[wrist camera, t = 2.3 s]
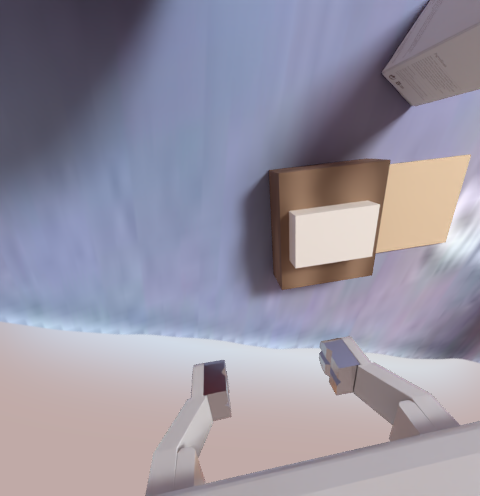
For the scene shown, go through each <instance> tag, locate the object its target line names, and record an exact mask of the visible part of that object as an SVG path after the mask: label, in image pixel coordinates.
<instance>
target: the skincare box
mask: <svg viewBox="0 0 480 496" xmlns="http://www.w3.org/2000/svg"><path fill="white" fill-rule="evenodd" d="M382 74H383V75H384V76H385V78H386V79H387V80H388V81H390V83H391V84H392V85H393V86H394V87H395V88H396V89H397V90H398V91H399V93H400V94H401V95H402V96H403V97H404V98H405V99H406V101H407V102H408V103H409V104H410V105H411V106H418V105H422V104H426V103H430V102H433V101H437V100H441V99H444V98H448V97H452V96H455V95H459V94H463V93H467V92H471V91H474V90H478V89H480V0H430V1H429V3H428V4H427V6H426V7H425V9H424V10H423V12H422V13H421V15H420V16H419V18H418V19H417V20H416V22H415V23H414V25H413V26H412V28H411V29H410V31H409V32H408V34H407V35H406V37H405V38H404V40H403V41H402V43H401V44H400V46H399V47H398V49H397V50H396V52H395V53H394V55H393V57H392V58H391V60H390V61H389V63H388V64H387V65H386V67H385V68H384V70H383V71H382Z"/></svg>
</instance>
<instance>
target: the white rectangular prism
mask: <svg viewBox="0 0 480 496" xmlns="http://www.w3.org/2000/svg"><path fill="white" fill-rule="evenodd" d="M379 208H380V204H377V203H374V202H371V201H368V200H367V201H360V202H352V203H345V204H338V205H330V206H323V207H315V208H308V209H301V210H293V211H289V260H290V262H291V263H292V264H293V266H294V267H295V268H302V267H308V266H315V265H321V264H327V263H334V262H340V261H347V260H353V259H359V258H366V257H372V254H373V247H374V241H375V234H376V228H377V221H378V215H379Z"/></svg>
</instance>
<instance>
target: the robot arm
mask: <svg viewBox="0 0 480 496" xmlns="http://www.w3.org/2000/svg"><path fill="white" fill-rule="evenodd" d="M320 348H321V350H322V351H321V352H320V353H319V359H320V364H321V367H322V369H323V371H324V373H325V374H326V375H328V376H329V377H330V378H329V383H330V385H331V386H332V388H333V390H334V392H335V394H336V395H341V394H346V393H352V392H354V394H355V395H356V396H358V397H359V398H360V399H361V400H362V401H364V402H365V403H366V404H368V405H369V406H370V407H371V408H372V409H373V410H375V411H376V412H377V413H378V414H380V415H381V416H382V417H383V418H385V419H386V420H387V421H388V422H389V423H391V424H392V425H393V426H392V430H391V433H390V437H389V439H390V442H386V443H381V444H377V445H373V446H368V447H364V448H359V449H355V450H351V451H346V452H342V453H337V454H333V455H329V456H324V457H320V458H316V459H311V460H307V461H302V462H298V463H294V464H290V465H285V466H281V467H276V468H272V469H268V470H263V471H259V472H255V473H250V474H246V475H241V476H237V477H233V478H228V479H224V480H220V481H216V482H211V483H206V484H205V479H204V476H203V473H202V470H201V467H200V464H199V461H198V457H199V455H200V453H201V450H202V448H203V446H204V443H205V441H206V439H207V436H208V434H209V432H210V429H211V427H212V424H213V421H216V420H221V419H225V418H228V417H231V406H230V399H229V385H228V377H227V371H226V365H225V360H220V361H214V362H208V363H202V364H196V365H194V366H193V374H192V389H191V398H190V399H187V401H186V403H185V404H184V406H183V407H182V409H181V410H180V412H179V414H178V415H177V417H176V418H175V420H174V421H173V423H172V425H171V426H170V428H169V429H168V431H167V432H166V434H165V435H164V437H163V439H162V440H161V442H160V443H159V445H158V447H157V448H156V450H155V451H154V453H153V457H152V462H151V468H150V474H149V479H148V484H147V490H146V495H145V496H480V421H478V422H473V423H469V424H465V425H459V424H458V422H457V421H456V420H455V419H454V418H453V417H452V416H451V415H450V414H449V413H448V412H447V410H446V409H445V408H444V407H443V406H442V405H441V404H440V403H439V402H438V401H437V400H436V398H435V397H434V396H433V395H432V394H430V393H428V392H427V391H425V390H423V389H421V388H420V387H418V386H416V385H414V384H412V383H411V382H409V381H407V380H405V379H403V378H401V377H400V376H398V375H396V374H394V373H393V372H391V371H389V370H387V369H385V368H384V367H382V366H380V365H378V364H376V363H371V362H370V360H369V359H368V358H367V356H366V355H365V354H364V353H363V351H362V350H361V349H360V347H359V346H358V345H357V344H356V342H355V341H354V340H353V339H352V337H350V336H348V337H343V338H336V339H331V340H326V341H321V343H320Z"/></svg>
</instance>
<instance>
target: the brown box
mask: <svg viewBox="0 0 480 496" xmlns="http://www.w3.org/2000/svg"><path fill="white" fill-rule="evenodd" d="M389 166H390V160H382V159H359V160H351V161H342V162H334V163H325V164H317V165H309V166H300V167H292V168H283V169H275V170H269V185H270V207H271V229H272V251H273V273H274V276H275V278H276V280H277V281H278V283H279V285H280V287H281V289H282V290H285V289H291V288H297V287H303V286H309V285H315V284H322V283H328V282H334V281H340V280H346V279H352V278H358V277H364V276H370V275H372V273H373V266H374V260H375V254H376V248H377V241H378V235H379V229H380V223H381V216H382V210H383V204H384V198H385V191H386V185H387V179H388V173H389ZM367 200H368V201H371V202H374V203H377V204H380V208H379V215H378V221H377V228H376V234H375V241H374V247H373V254H372V257H366V258H359V259H353V260H347V261H340V262H334V263H327V264H321V265H315V266H308V267H302V268H295V267H294V266H293V264H292V263H291V262H290V260H289V211H293V210H301V209H308V208H315V207H323V206H330V205H338V204H345V203H352V202H360V201H367Z"/></svg>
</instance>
